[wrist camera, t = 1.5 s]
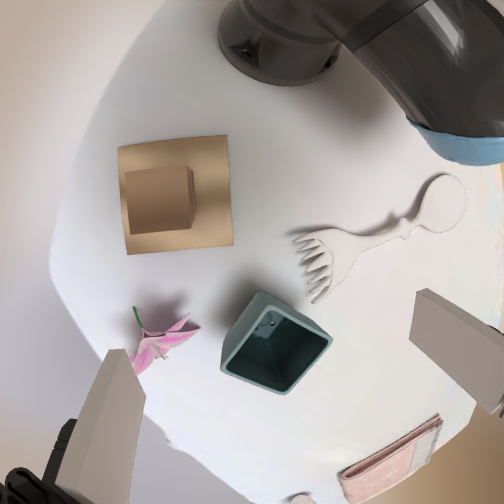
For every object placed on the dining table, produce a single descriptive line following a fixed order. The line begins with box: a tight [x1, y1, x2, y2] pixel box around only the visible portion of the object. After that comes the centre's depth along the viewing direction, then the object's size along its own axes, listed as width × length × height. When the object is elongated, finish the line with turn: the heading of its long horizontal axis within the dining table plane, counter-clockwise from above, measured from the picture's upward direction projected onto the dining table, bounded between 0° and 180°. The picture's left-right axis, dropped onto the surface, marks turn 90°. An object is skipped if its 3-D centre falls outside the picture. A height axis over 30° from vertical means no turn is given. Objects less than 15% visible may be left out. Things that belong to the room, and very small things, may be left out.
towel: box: [340, 413, 443, 504], centre depth 54 cm, size 36×34×6 cm
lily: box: [129, 307, 201, 376], centre depth 29 cm, size 12×12×10 cm
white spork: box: [292, 174, 466, 304], centre depth 33 cm, size 9×32×4 cm, turn 110°
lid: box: [118, 135, 233, 255], centre depth 23 cm, size 12×12×11 cm
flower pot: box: [220, 291, 333, 395], centre depth 30 cm, size 9×9×9 cm
